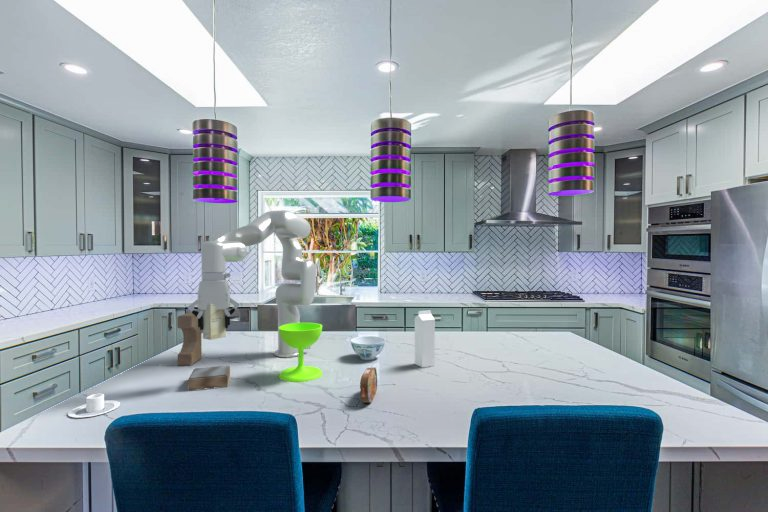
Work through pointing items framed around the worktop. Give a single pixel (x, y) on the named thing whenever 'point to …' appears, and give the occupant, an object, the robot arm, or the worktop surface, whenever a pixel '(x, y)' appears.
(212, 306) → the skincare box
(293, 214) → the robot arm
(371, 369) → the tin
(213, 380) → the plinth
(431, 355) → the milk
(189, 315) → the decorative block
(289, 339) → the wineglass
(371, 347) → the chinaware
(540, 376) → the worktop surface
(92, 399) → the candle holder
